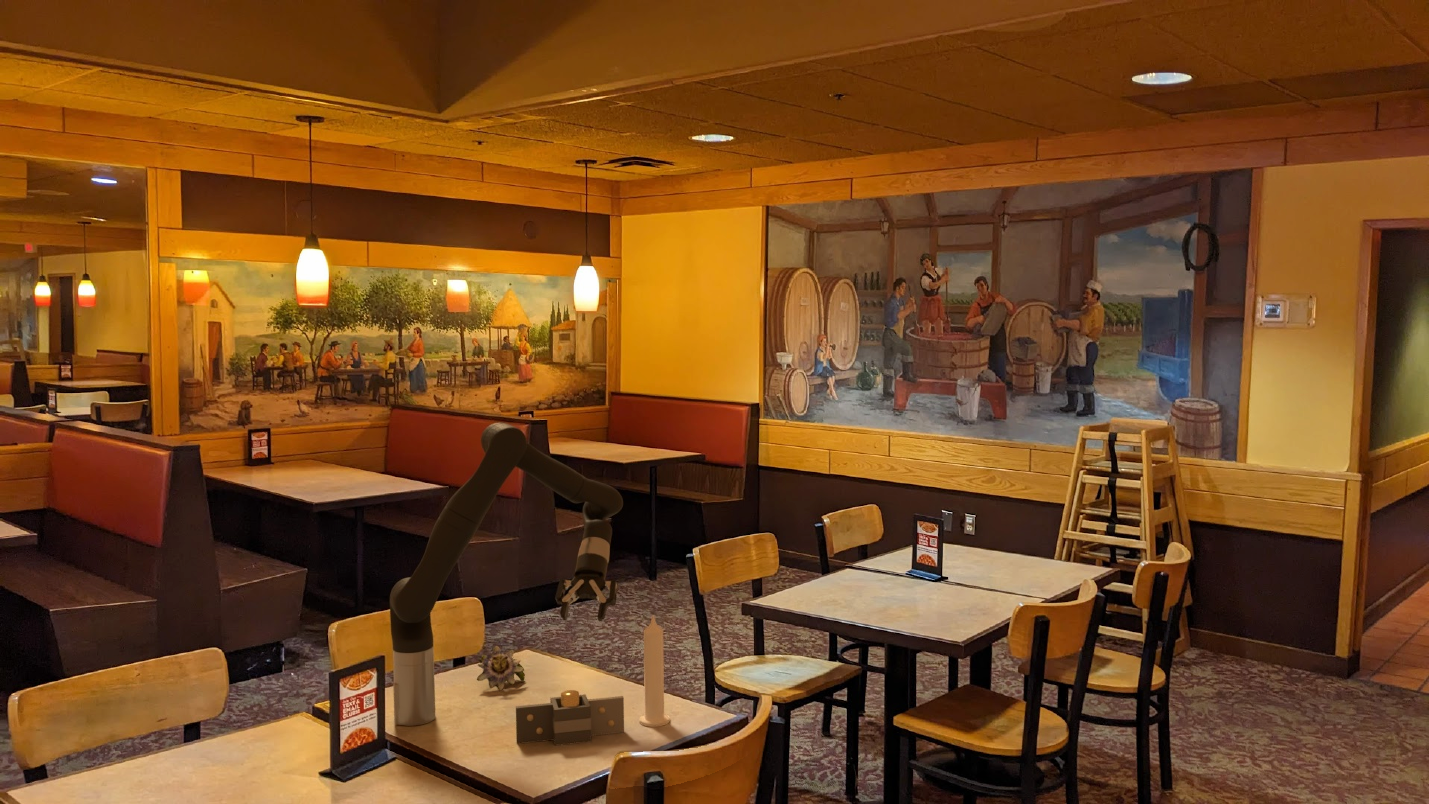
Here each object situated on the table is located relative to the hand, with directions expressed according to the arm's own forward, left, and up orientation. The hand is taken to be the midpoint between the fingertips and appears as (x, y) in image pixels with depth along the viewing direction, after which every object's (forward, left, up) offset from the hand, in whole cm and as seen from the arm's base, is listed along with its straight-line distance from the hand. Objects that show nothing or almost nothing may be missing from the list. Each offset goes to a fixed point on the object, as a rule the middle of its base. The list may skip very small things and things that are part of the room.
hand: (581, 619), depth 250 cm
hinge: (-4, -11, -24) cm, 26 cm away
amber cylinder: (-4, -11, -24) cm, 26 cm away
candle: (+16, -7, -24) cm, 29 cm away
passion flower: (-17, +29, -24) cm, 42 cm away
